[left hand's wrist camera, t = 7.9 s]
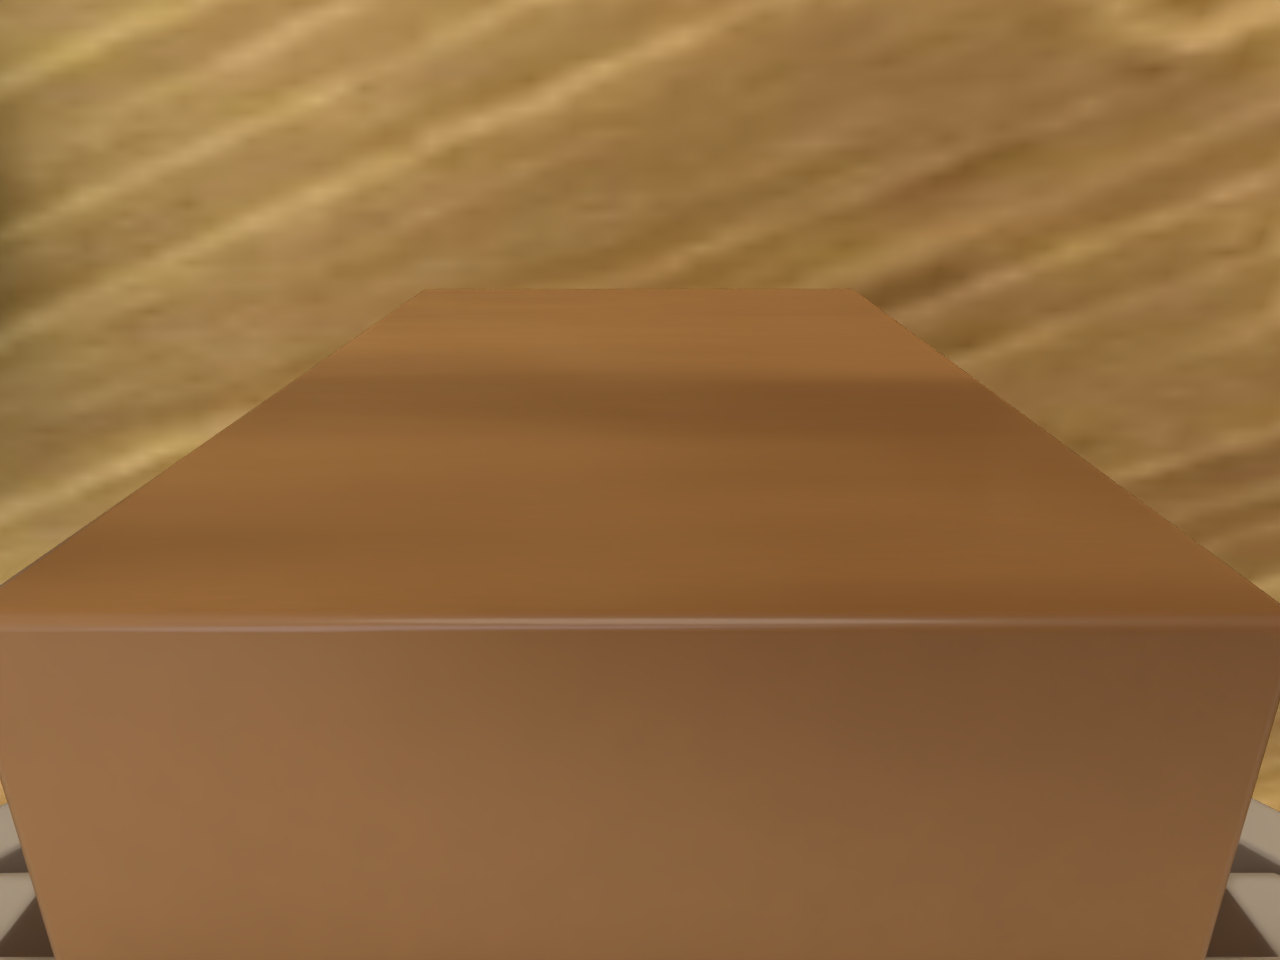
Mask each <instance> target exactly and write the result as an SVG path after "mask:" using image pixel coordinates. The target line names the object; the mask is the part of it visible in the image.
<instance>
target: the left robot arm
mask: <svg viewBox="0 0 1280 960" xmlns="http://www.w3.org/2000/svg"><path fill="white" fill-rule="evenodd" d="M0 960H55V957H54V954H53V951H52V948H51V944H50V941H49V938H48V934H47V931H46V928H45V924H44V921H43V918H42V915H41V911H40V908H39V905H38V901H37V898H36V895H35V891H34V888H33V885H32V882H31V878H30V875H29V872H28V868H27V865H26V862H25V858H24V855H23V852H22V849H21V845H20V842H19V839H18V835H17V832H16V829H15V825H14V822H13V819H12V816H11V812H10V809H9V806H8V803H6V804H4V805H2V806H0ZM1205 960H1280V812H1279V811H1277V810H1275V809H1273V808H1271V807H1269V806H1267V805H1265V804H1263V803H1261V802H1259V801H1257V800H1255V799H1253V798H1251V802H1250V805H1249V809H1248V812H1247V816H1246V819H1245V822H1244V826H1243V829H1242V833H1241V836H1240V840H1239V843H1238V847H1237V850H1236V854H1235V857H1234V861H1233V864H1232V868H1231V871H1230V874H1229V878H1228V881H1227V885H1226V888H1225V892H1224V895H1223V899H1222V902H1221V906H1220V909H1219V913H1218V916H1217V919H1216V923H1215V926H1214V930H1213V933H1212V937H1211V940H1210V944H1209V947H1208V951H1207V954H1206V958H1205Z"/></svg>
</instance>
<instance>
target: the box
mask: <svg viewBox="0 0 1280 960" xmlns="http://www.w3.org/2000/svg"><path fill="white" fill-rule="evenodd" d="M1279 701H1280V603H1278V602H1277V601H1276V600H1274V599H1273V598H1272V597H1270V596H1269V595H1268V594H1266V593H1265V592H1264V591H1262V590H1261V589H1259V588H1258V587H1257V586H1255V585H1254V584H1253V583H1251V582H1250V581H1249V580H1247V579H1246V578H1244V577H1243V576H1242V575H1240V574H1239V573H1238V572H1236V571H1235V570H1234V569H1232V568H1231V567H1230V566H1228V565H1227V564H1225V563H1224V562H1223V561H1221V560H1220V559H1219V558H1217V557H1216V556H1215V555H1213V554H1212V553H1211V552H1209V551H1208V550H1206V549H1205V548H1204V547H1202V546H1201V545H1200V544H1198V543H1197V542H1196V541H1194V540H1193V539H1191V538H1190V537H1189V536H1187V535H1186V534H1185V533H1183V532H1182V531H1181V530H1179V529H1178V528H1177V527H1175V526H1174V525H1172V524H1171V523H1170V522H1168V521H1167V520H1166V519H1164V518H1163V517H1162V516H1160V515H1159V514H1158V513H1156V512H1155V511H1153V510H1152V509H1151V508H1149V507H1148V506H1147V505H1145V504H1144V503H1143V502H1141V501H1140V500H1138V499H1137V498H1136V497H1134V496H1133V495H1132V494H1130V493H1129V492H1128V491H1126V490H1125V489H1124V488H1122V487H1121V486H1119V485H1118V484H1117V483H1115V482H1114V481H1113V480H1111V479H1110V478H1109V477H1107V476H1106V475H1105V474H1103V473H1102V472H1100V471H1099V470H1098V469H1096V468H1095V467H1094V466H1092V465H1091V464H1090V463H1088V462H1087V461H1085V460H1084V459H1083V458H1081V457H1080V456H1079V455H1077V454H1076V453H1075V452H1073V451H1072V450H1071V449H1069V448H1068V447H1066V446H1065V445H1064V444H1062V443H1061V442H1060V441H1058V440H1057V439H1056V438H1054V437H1053V436H1052V435H1050V434H1049V433H1047V432H1046V431H1045V430H1043V429H1042V428H1041V427H1039V426H1038V425H1037V424H1035V423H1034V422H1032V421H1031V420H1030V419H1028V418H1027V417H1026V416H1024V415H1023V414H1022V413H1020V412H1019V411H1018V410H1016V409H1015V408H1013V407H1012V406H1011V405H1009V404H1008V403H1007V402H1005V401H1004V400H1003V399H1001V398H1000V397H999V396H997V395H996V394H994V393H993V392H992V391H990V390H989V389H988V388H986V387H985V386H984V385H982V384H981V383H979V382H978V381H977V380H975V379H974V378H973V377H971V376H970V375H969V374H967V373H966V372H965V371H963V370H962V369H960V368H959V367H958V366H956V365H955V364H954V363H952V362H951V361H950V360H948V359H947V358H946V357H944V356H943V355H941V354H940V353H939V352H937V351H936V350H935V349H933V348H932V347H931V346H929V345H928V344H926V343H925V342H924V341H922V340H921V339H920V338H918V337H917V336H916V335H914V334H913V333H912V332H910V331H909V330H907V329H906V328H905V327H903V326H902V325H901V324H899V323H898V322H897V321H895V320H894V319H893V318H891V317H890V316H888V315H887V314H886V313H884V312H883V311H882V310H880V309H879V308H878V307H876V306H875V305H873V304H872V303H871V302H869V301H868V300H867V299H865V298H864V297H863V296H861V295H860V294H859V293H857V292H856V291H854V290H852V289H426V290H424V291H422V292H420V293H419V294H417V295H416V296H415V297H413V298H412V299H410V300H409V301H407V302H406V303H405V304H403V305H402V306H400V307H399V308H397V309H396V310H395V311H393V312H392V313H390V314H389V315H387V316H386V317H384V318H383V319H382V320H380V321H379V322H377V323H376V324H374V325H373V326H372V327H370V328H369V329H367V330H366V331H364V332H363V333H362V334H360V335H359V336H357V337H356V338H354V339H353V340H351V341H350V342H349V343H347V344H346V345H344V346H343V347H341V348H340V349H339V350H337V351H336V352H334V353H333V354H331V355H330V356H329V357H327V358H326V359H324V360H323V361H321V362H320V363H319V364H317V365H316V366H314V367H313V368H311V369H310V370H308V371H307V372H306V373H304V374H303V375H301V376H300V377H298V378H297V379H296V380H294V381H293V382H291V383H290V384H288V385H287V386H286V387H284V388H283V389H281V390H280V391H278V392H277V393H275V394H274V395H273V396H271V397H270V398H268V399H267V400H265V401H264V402H263V403H261V404H260V405H258V406H257V407H255V408H254V409H253V410H251V411H250V412H248V413H247V414H245V415H244V416H243V417H241V418H240V419H238V420H237V421H235V422H234V423H232V424H231V425H230V426H228V427H227V428H225V429H224V430H222V431H221V432H220V433H218V434H217V435H215V436H214V437H212V438H211V439H210V440H208V441H207V442H205V443H204V444H202V445H201V446H199V447H198V448H197V449H195V450H194V451H192V452H191V453H189V454H188V455H187V456H185V457H184V458H182V459H181V460H179V461H178V462H177V463H175V464H174V465H172V466H171V467H169V468H168V469H166V470H165V471H164V472H162V473H161V474H159V475H158V476H156V477H155V478H154V479H152V480H151V481H149V482H148V483H146V484H145V485H144V486H142V487H141V488H139V489H138V490H136V491H135V492H134V493H132V494H131V495H129V496H128V497H126V498H125V499H123V500H122V501H121V502H119V503H118V504H116V505H115V506H113V507H112V508H111V509H109V510H108V511H106V512H105V513H103V514H102V515H101V516H99V517H98V518H96V519H95V520H93V521H92V522H90V523H89V524H88V525H86V526H85V527H83V528H82V529H80V530H79V531H78V532H76V533H75V534H73V535H72V536H70V537H69V538H68V539H66V540H65V541H63V542H62V543H60V544H59V545H58V546H56V547H55V548H53V549H52V550H50V551H49V552H47V553H46V554H45V555H43V556H42V557H40V558H39V559H37V560H36V561H35V562H33V563H32V564H30V565H29V566H27V567H26V568H25V569H23V570H22V571H20V572H19V573H17V574H16V575H14V576H13V577H12V578H10V579H9V580H7V581H6V582H4V583H3V584H2V585H0V779H1V783H2V786H3V789H4V792H5V796H6V799H7V802H8V806H9V809H10V812H11V816H12V819H13V822H14V825H15V829H16V832H17V835H18V839H19V842H20V845H21V849H22V852H23V855H24V858H25V862H26V865H27V868H28V872H29V875H30V878H31V882H32V885H33V888H34V891H35V895H36V898H37V901H38V905H39V908H40V911H41V915H42V918H43V921H44V924H45V928H46V931H47V934H48V938H49V941H50V944H51V948H52V951H53V954H54V957H55V960H1205V958H1206V954H1207V951H1208V947H1209V944H1210V940H1211V937H1212V933H1213V930H1214V926H1215V923H1216V919H1217V916H1218V913H1219V909H1220V906H1221V902H1222V899H1223V895H1224V892H1225V888H1226V885H1227V881H1228V878H1229V874H1230V871H1231V868H1232V864H1233V861H1234V857H1235V854H1236V850H1237V847H1238V843H1239V840H1240V836H1241V833H1242V829H1243V826H1244V822H1245V819H1246V816H1247V812H1248V809H1249V805H1250V802H1251V798H1252V795H1253V791H1254V788H1255V784H1256V781H1257V777H1258V774H1259V771H1260V767H1261V764H1262V760H1263V757H1264V753H1265V750H1266V746H1267V743H1268V739H1269V736H1270V732H1271V729H1272V725H1273V722H1274V719H1275V715H1276V712H1277V708H1278V705H1279Z"/></svg>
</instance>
